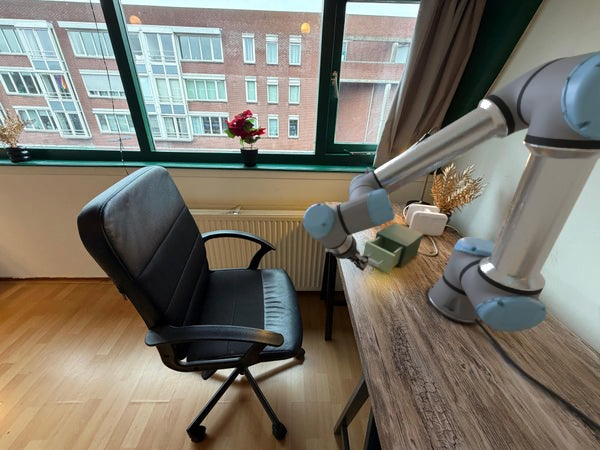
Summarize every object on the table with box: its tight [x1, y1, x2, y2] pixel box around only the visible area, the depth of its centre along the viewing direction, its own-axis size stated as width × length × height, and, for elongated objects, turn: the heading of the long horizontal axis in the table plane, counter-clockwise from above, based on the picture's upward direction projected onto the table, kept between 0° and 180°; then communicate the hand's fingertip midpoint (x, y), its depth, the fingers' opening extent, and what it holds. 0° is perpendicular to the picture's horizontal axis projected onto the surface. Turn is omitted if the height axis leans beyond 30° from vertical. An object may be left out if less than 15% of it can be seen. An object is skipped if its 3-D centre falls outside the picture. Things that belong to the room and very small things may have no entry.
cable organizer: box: [404, 203, 449, 237], centre depth 118 cm, size 15×11×12 cm
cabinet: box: [374, 222, 425, 268], centre depth 100 cm, size 15×13×10 cm
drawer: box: [362, 236, 405, 275], centre depth 93 cm, size 18×11×8 cm, turn 133°
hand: (363, 266), depth 84 cm, fingers closed
